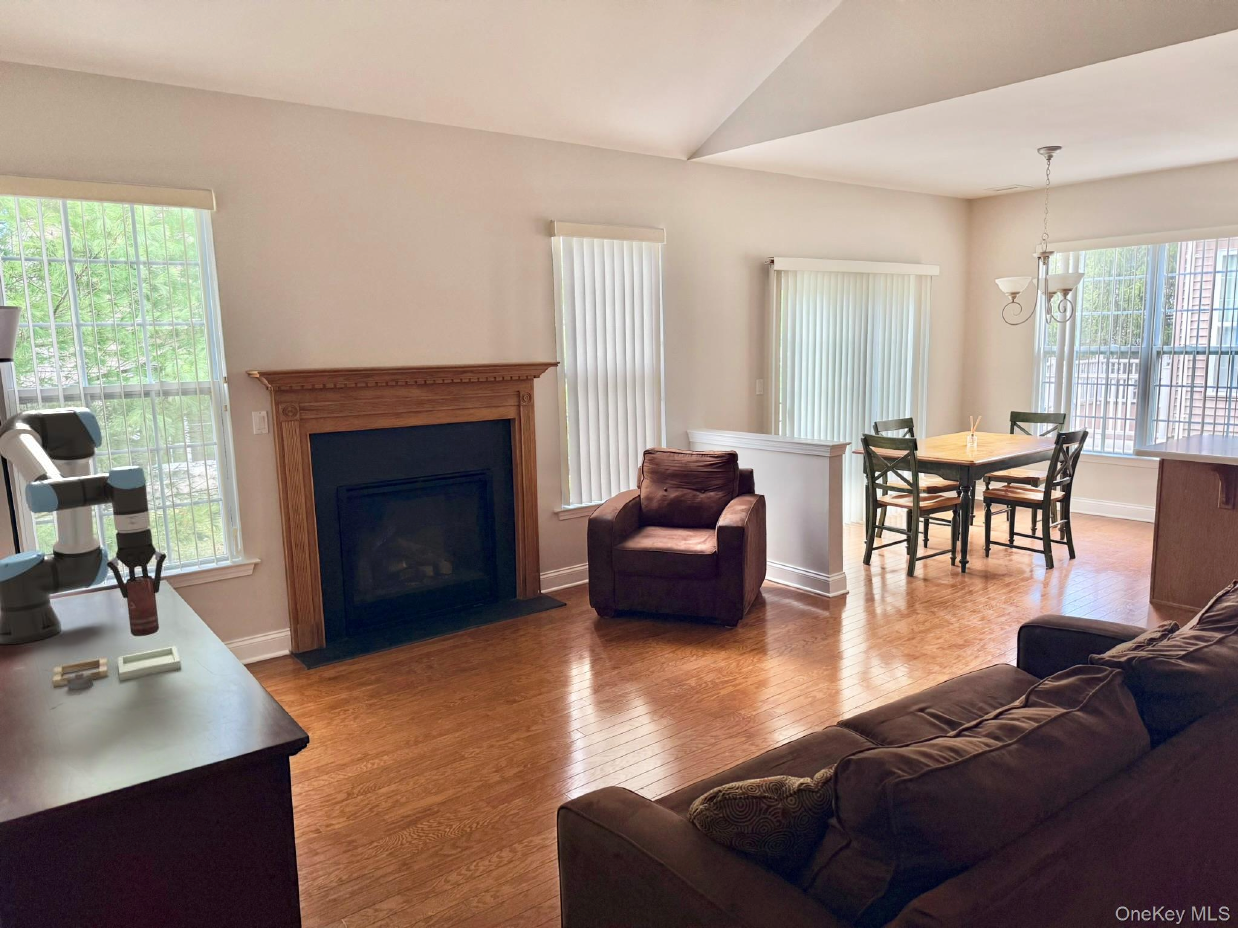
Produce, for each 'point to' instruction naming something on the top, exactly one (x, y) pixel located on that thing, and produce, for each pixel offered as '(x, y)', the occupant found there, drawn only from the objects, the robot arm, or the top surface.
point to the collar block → (80, 674)
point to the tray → (148, 663)
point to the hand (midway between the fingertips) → (144, 622)
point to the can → (142, 606)
